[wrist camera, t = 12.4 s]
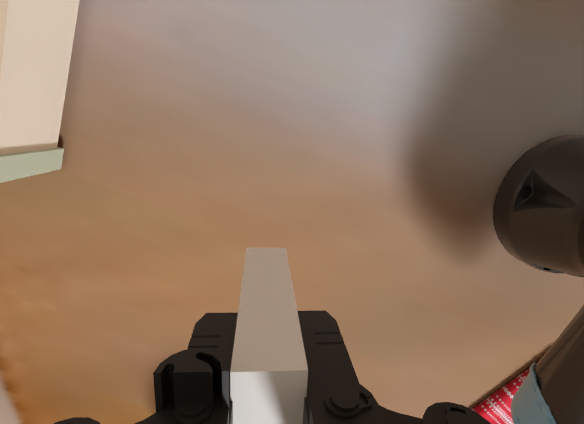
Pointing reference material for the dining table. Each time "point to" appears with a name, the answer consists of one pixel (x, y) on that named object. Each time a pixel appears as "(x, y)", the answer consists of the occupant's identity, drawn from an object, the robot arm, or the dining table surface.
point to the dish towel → (501, 402)
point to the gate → (33, 83)
